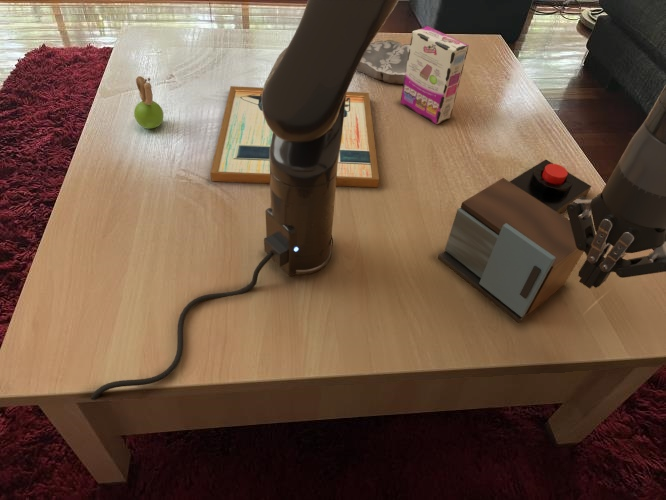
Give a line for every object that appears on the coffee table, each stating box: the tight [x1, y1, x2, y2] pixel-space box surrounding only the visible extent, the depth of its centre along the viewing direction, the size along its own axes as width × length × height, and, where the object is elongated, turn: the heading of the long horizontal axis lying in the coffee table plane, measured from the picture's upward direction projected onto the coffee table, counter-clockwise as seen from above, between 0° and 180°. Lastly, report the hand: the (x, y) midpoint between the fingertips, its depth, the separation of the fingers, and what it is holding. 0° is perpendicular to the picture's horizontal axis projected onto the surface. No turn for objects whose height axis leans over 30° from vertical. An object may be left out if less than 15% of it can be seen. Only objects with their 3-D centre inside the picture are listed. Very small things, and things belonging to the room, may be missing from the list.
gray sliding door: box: [479, 223, 556, 317], centre depth 74 cm, size 1×8×12 cm, turn 40°
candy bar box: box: [399, 25, 470, 125], centre depth 110 cm, size 11×5×16 cm, turn 42°
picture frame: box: [209, 85, 380, 188], centre depth 105 cm, size 30×2×30 cm
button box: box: [509, 159, 592, 215], centre depth 97 cm, size 12×10×4 cm
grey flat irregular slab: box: [357, 39, 410, 85], centre depth 127 cm, size 20×17×3 cm
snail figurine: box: [133, 75, 164, 130], centre depth 101 cm, size 5×6×12 cm
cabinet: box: [437, 177, 585, 323], centre depth 80 cm, size 12×16×11 cm
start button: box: [542, 163, 569, 185], centre depth 95 cm, size 4×4×2 cm
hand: (588, 282), depth 65 cm, fingers closed
